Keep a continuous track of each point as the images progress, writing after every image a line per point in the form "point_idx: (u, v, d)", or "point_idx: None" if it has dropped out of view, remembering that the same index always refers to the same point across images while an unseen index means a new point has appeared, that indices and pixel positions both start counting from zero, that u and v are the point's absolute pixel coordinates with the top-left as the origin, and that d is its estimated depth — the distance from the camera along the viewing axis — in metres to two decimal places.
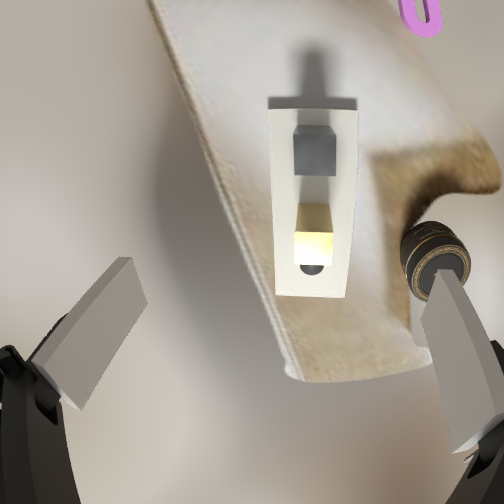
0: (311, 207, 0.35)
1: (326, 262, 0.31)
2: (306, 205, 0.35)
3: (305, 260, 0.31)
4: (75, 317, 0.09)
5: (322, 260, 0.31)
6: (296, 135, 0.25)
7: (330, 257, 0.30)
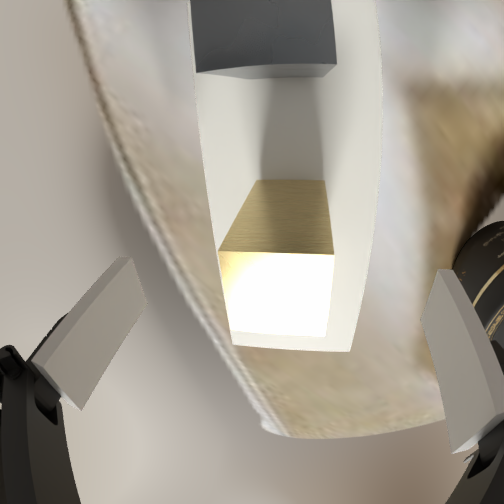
0: (283, 186, 0.15)
1: (313, 329, 0.11)
2: (272, 183, 0.16)
3: (256, 324, 0.12)
4: (75, 317, 0.09)
5: (301, 325, 0.11)
6: None
7: (323, 319, 0.11)
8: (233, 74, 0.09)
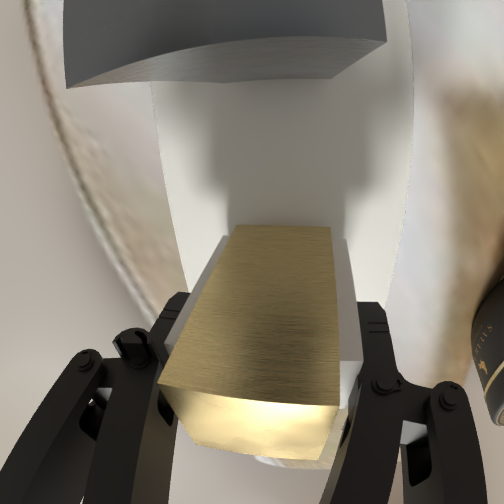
0: (271, 239, 0.11)
1: (303, 456, 0.07)
2: (257, 233, 0.12)
3: (226, 446, 0.07)
4: None
5: (287, 453, 0.07)
6: None
7: (317, 450, 0.07)
8: (174, 77, 0.05)
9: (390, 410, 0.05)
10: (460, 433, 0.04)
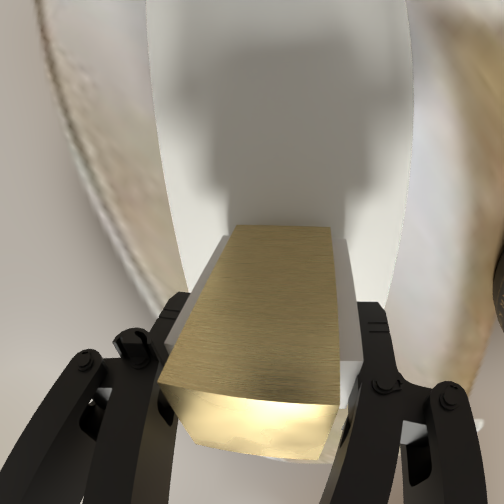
0: (271, 239, 0.11)
1: (303, 455, 0.07)
2: (257, 233, 0.12)
3: (226, 446, 0.07)
4: None
5: (287, 453, 0.07)
6: None
7: (317, 450, 0.07)
8: None
9: (390, 410, 0.05)
10: (460, 433, 0.04)
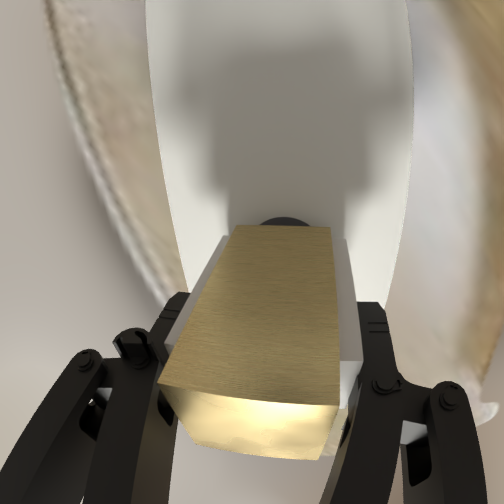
0: (271, 239, 0.11)
1: (302, 456, 0.07)
2: (257, 233, 0.12)
3: (226, 446, 0.07)
4: None
5: (287, 453, 0.07)
6: None
7: (317, 450, 0.07)
8: None
9: (390, 410, 0.05)
10: (460, 433, 0.04)
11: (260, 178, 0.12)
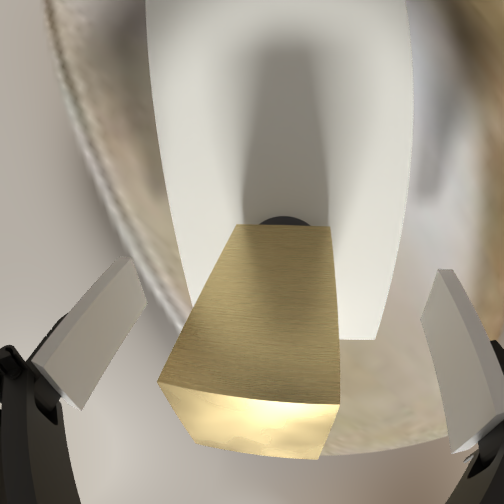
0: (271, 239, 0.11)
1: (303, 455, 0.07)
2: (257, 233, 0.12)
3: (226, 445, 0.07)
4: (75, 317, 0.09)
5: (287, 452, 0.07)
6: None
7: (317, 449, 0.07)
8: None
9: None
10: None
11: (260, 177, 0.12)
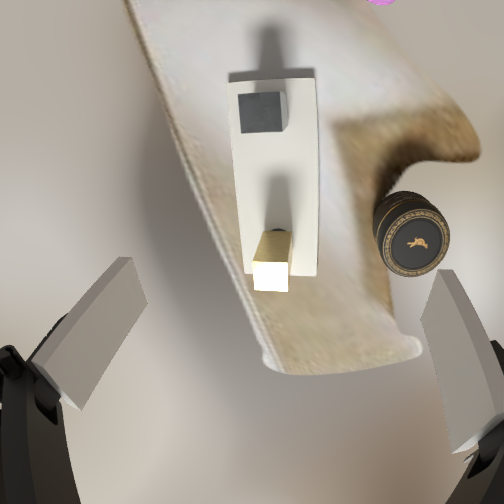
0: (274, 235, 0.38)
1: (283, 288, 0.34)
2: (270, 233, 0.39)
3: (263, 286, 0.34)
4: (75, 317, 0.09)
5: (279, 286, 0.34)
6: (240, 94, 0.24)
7: (286, 284, 0.34)
8: None
9: None
10: None
11: (270, 216, 0.39)
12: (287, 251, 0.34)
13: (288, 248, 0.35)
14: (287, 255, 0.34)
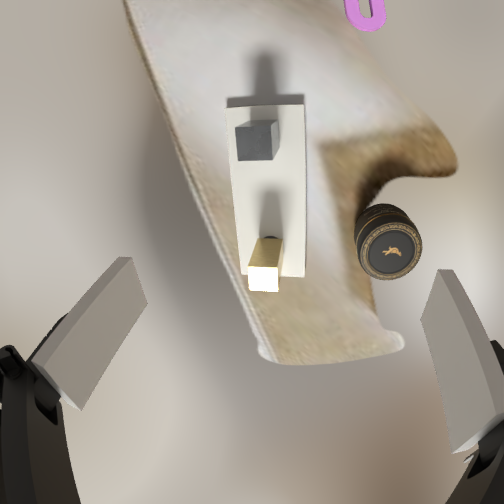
0: (267, 242, 0.44)
1: (274, 289, 0.40)
2: (263, 240, 0.45)
3: (257, 287, 0.40)
4: (75, 317, 0.09)
5: (270, 287, 0.40)
6: (237, 127, 0.30)
7: (276, 285, 0.40)
8: None
9: None
10: None
11: (264, 225, 0.45)
12: (277, 257, 0.40)
13: (278, 254, 0.41)
14: (277, 261, 0.39)
